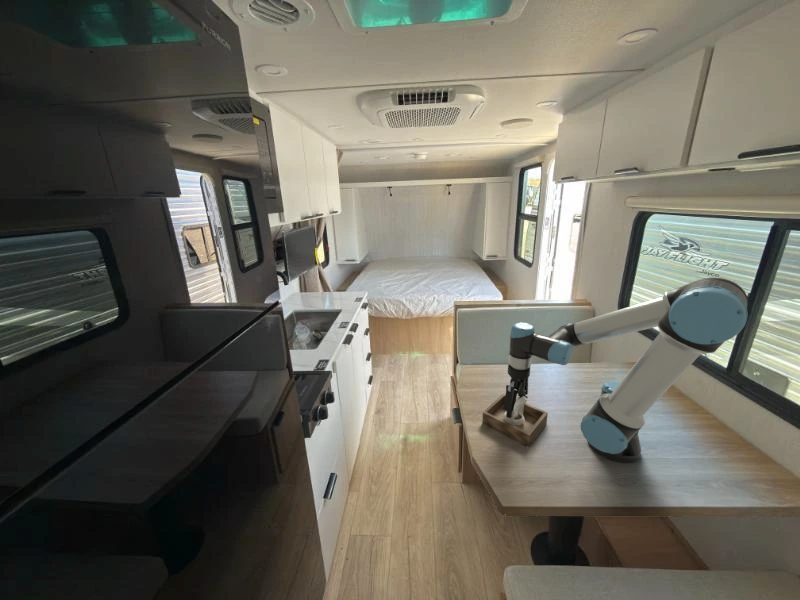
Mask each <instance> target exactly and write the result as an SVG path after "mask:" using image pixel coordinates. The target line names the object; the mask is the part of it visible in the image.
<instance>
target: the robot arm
mask: <svg viewBox="0 0 800 600" xmlns="http://www.w3.org/2000/svg"><path fill="white" fill-rule="evenodd" d="M748 305H749V299H748V295H747V293H746V291H745V290H744V288H742V287H741V286H740V285H739V284H738V283H736V282H734V281H732V280H730V279H726V278H722V277H704V278H701V279H697V280H694V281H693V282H690V283H687V284H684V285H681V286H679V287H676V288H673V289H669V290H667V291H665V292H664V294H663V296H660V297H656V298H653V299H650V300H648V301H644V302H640V303H637V304H634V305H630V306H627V307H624V308H621V309H617V310H613V311H611V312H607V313H604V314H602V315H601V314H600V315H597V316H595V317H591V318H588V319H585V320H581V321H577V322H576V323H565V324H563V325H562V326H559V328H557V329H556V330H555V331H554V332H552V333H551V334H549V335H547V336H546V335H543V334H539V333H537V332H536V331H535V327H534V325H532V324H530V323H527V322H516V323H514V324H512V326H511V328H510V334H509V351H508V353H507V355H508V364H507V374H508V376H509V377H510V379H509V380H510V381H509V382H510V383H509V385H508V384H506V385H505V402H504V408H503V409H504V410H506V422H508V423H510V424H512V425H513V423H514V411H515V410H514V405H515V401H516V399H517V401H518V400H519V399H520V398H521V397H523V396H525V397H526V398H527V399H528V394H529V377H530V375H531V366H532V357H536V358H539V359H542V360H545V361H546V362H550V363H552V364H557V365H561V366H567V365H568V364H569V362H570V360H571V359H572V358H573V352H574V348H575V347H579V346H583V345H586V344H591V343H595V342H599V341H602V340H603V341H604V340H607V339H611V338H616V337H619V336H624V335H628V334H633V333H636V332H641V331H644V330H650V329H652V328H653V329H654V328H658V330H659V333H658V334H657V336H656V337H655V338H654V340H653V341H652V342H651V344H649V346H648V347H647V348H646V350H645V351H644V352H643V353H642V355H641V356H640V357H639V358H638V360H637V361H636V362H635V363H634V365H633V366H632V367H631V368H630V369H629V371H628V372H627V373H626V374H625V376H624V377H623V378H622V379H621V381H614V380H613V381H611V380H610V381H606V382H604V383H603V384H602V386H601V392H600V396H599V398H598V399H597V400H596V402H594V404H593V405H592V407H591V408H590V409H589V411H588V412H587V413H586V415H585V416H583V417H582V418H581V422H580V432H581V433H582V436H583V438H584V439H585V440H586V441H587V443H588V445H589V446H590V447H591V449H593V450H594V452H596V453H597V454H599V455H600V456H602V457H604V458H606V459H608V460H611V461H613V462H618V463H625V464H633V463H634V462H637V461H639V459H640V458H641V455H642V454H641V453H642V446H641V442H640V437H639V431H640V430H641V429H642V428H643V427H644V426H645V422H646V421H645V417H644V415H645V414H646V413H647V412H648V411H649V410H650V409H651V408H652V407H653V406H654V404H655V403H656V402H657V401H658V400H659V399H660V398H661V397H662V396H663V395H664V394H665V393H666V392H667V391H668V390H669V389H670V387H672V385H673V384H674V383H675V382H676V381H677V380H678V379H679V378H680V377H681V376H682V375H683V374H684V372H685V371H687V370H688V368H689V367H690V366H691V365H692V364H693V363H694V362H695V361H696V360H697V358H699V357H700V356H701V355H702V354H706V355H707V354H713V353H715V352H716V351H717V350H718V349H719V348H720V347H721V346H722V345H723V344H725V342H727V341H729V340H731V339H733V338H734V337H735V336H737V335H738V334H740V332H742V330H743V329H744V327H746V323H747V321H748V316H749V313H748ZM517 411H519V412H521V413H522V414H523V411H524V404H523V405H522V406H521V407H520V408H518V409H517Z"/></svg>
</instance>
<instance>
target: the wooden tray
mask: <svg viewBox="0 0 800 600" xmlns="http://www.w3.org/2000/svg"><path fill="white" fill-rule="evenodd" d="M505 395H506V393H502V394H501V395H500V396H499V397H498V398H497V399H495V401H493V402H492V403H491V404H490V405H489V406H488V407H487V408H486V409H485V410H483V412H482V424H483V425H485V426H487V427H489V428H491V429H493V430H495V431H497V432H499V433H500V434H501V435H502V434H503V435H504V436H506V437H508V438H510V439H512V440H514V441H516V442H518V443H519V444H522V445H523V446H525V447H527V448H529V447H530V446H531V445H532V443H533V442H534V441H535V439H536V438H537V437H538V435H539V434H540V433H541V431H542V430H543V429H544V428H545V426H546V425H547V422H548V415H549V413H548V412H547V411H545V410H543V409H541V408H538V407H536V406H533V405H531V404H529V403H527V402H526V403H524V411H523V416H524V419H525V421H524V423H523V424H521V425H512V424H510V423H508V422H506V421H505V419H504V417H503V416H504V413H505V412H506V410H504V409H503V408H504V402H505ZM515 402H517V398H516V401H515ZM521 418H522V416H521V415H520V414H518V416H517V417H514V420H519V419H521Z"/></svg>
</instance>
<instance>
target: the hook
mask: <svg viewBox="0 0 800 600" xmlns="http://www.w3.org/2000/svg"><path fill="white" fill-rule="evenodd" d="M527 402H528V398H526V397H525V396H523V397H521V398H520V399H519V400H518V401H517V402H515V405H514V410H515V411H514V417H517V416H518V414H520V415H521V416H522V418H521V419H519V420H514V423H513V425H521V424H523V423H524V421H525V419H524V416H523V414H522V413H521V412H519V411H517V409H518V408H520V407H521V406H522V405H523V404H524V403H526V404H527ZM503 417H504V419H505V421H506V412H505V413H504V416H503Z"/></svg>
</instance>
